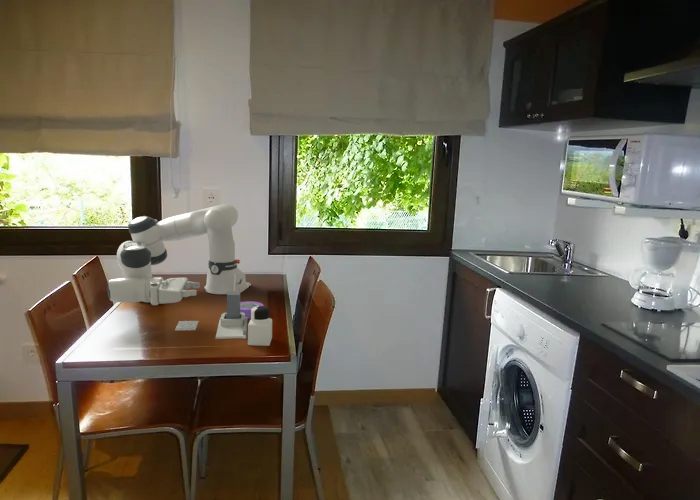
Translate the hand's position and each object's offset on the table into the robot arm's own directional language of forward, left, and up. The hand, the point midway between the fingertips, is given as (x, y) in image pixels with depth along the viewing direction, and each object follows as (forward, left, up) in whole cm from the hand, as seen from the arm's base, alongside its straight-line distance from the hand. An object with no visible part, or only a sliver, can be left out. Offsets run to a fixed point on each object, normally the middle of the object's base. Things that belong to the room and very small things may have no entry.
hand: (198, 288), depth 176 cm
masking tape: (-21, +8, -15) cm, 26 cm away
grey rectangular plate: (+1, -4, -14) cm, 15 cm away
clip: (-7, +10, -13) cm, 18 cm away
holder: (-3, +12, -14) cm, 19 cm away
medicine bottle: (+3, +27, -14) cm, 31 cm away
